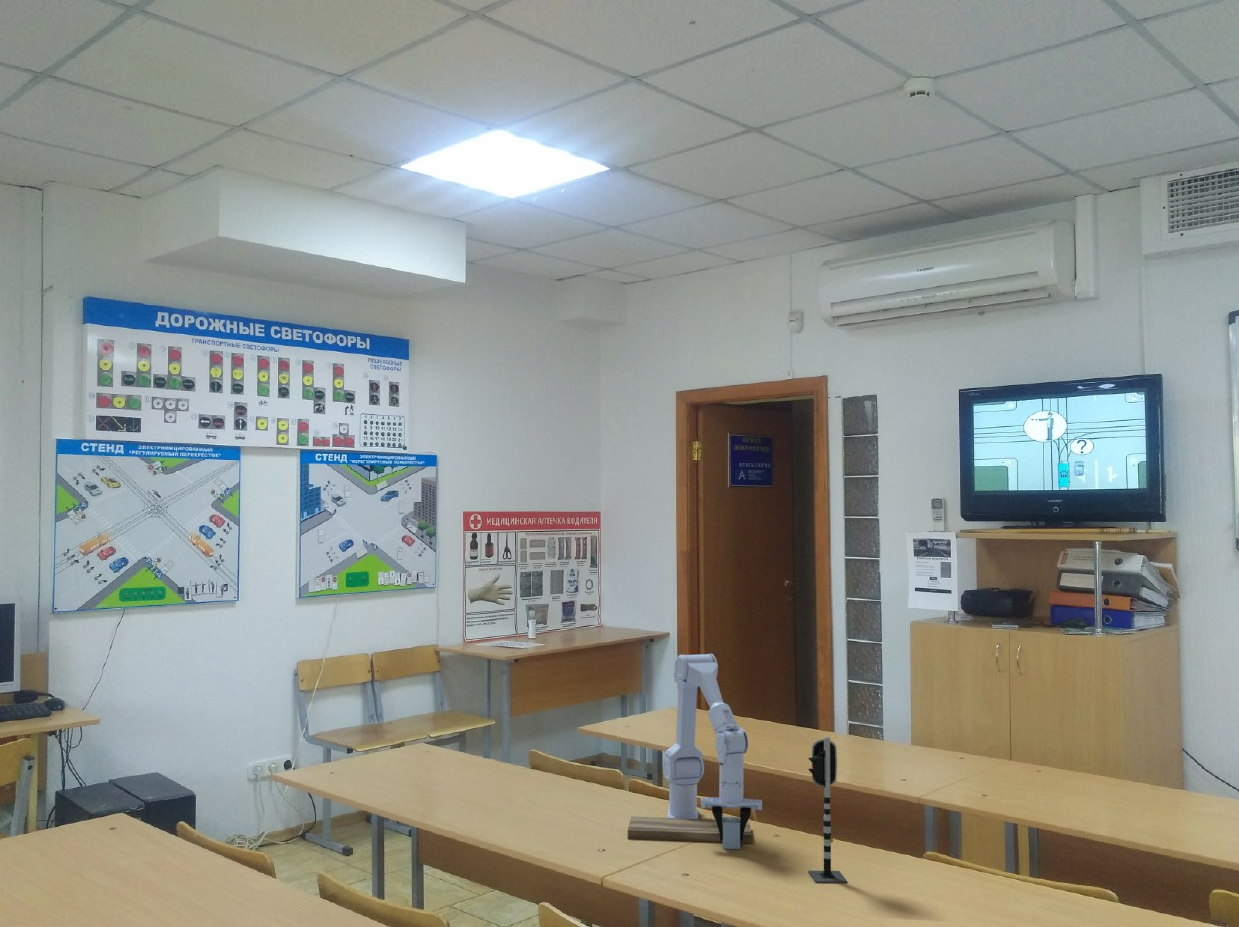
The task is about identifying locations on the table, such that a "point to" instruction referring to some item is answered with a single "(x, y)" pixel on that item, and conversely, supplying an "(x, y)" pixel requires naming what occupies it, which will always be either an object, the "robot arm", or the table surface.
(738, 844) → the light blue block
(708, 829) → the board
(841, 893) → the table surface
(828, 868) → the miniature traffic light
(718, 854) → the table surface
